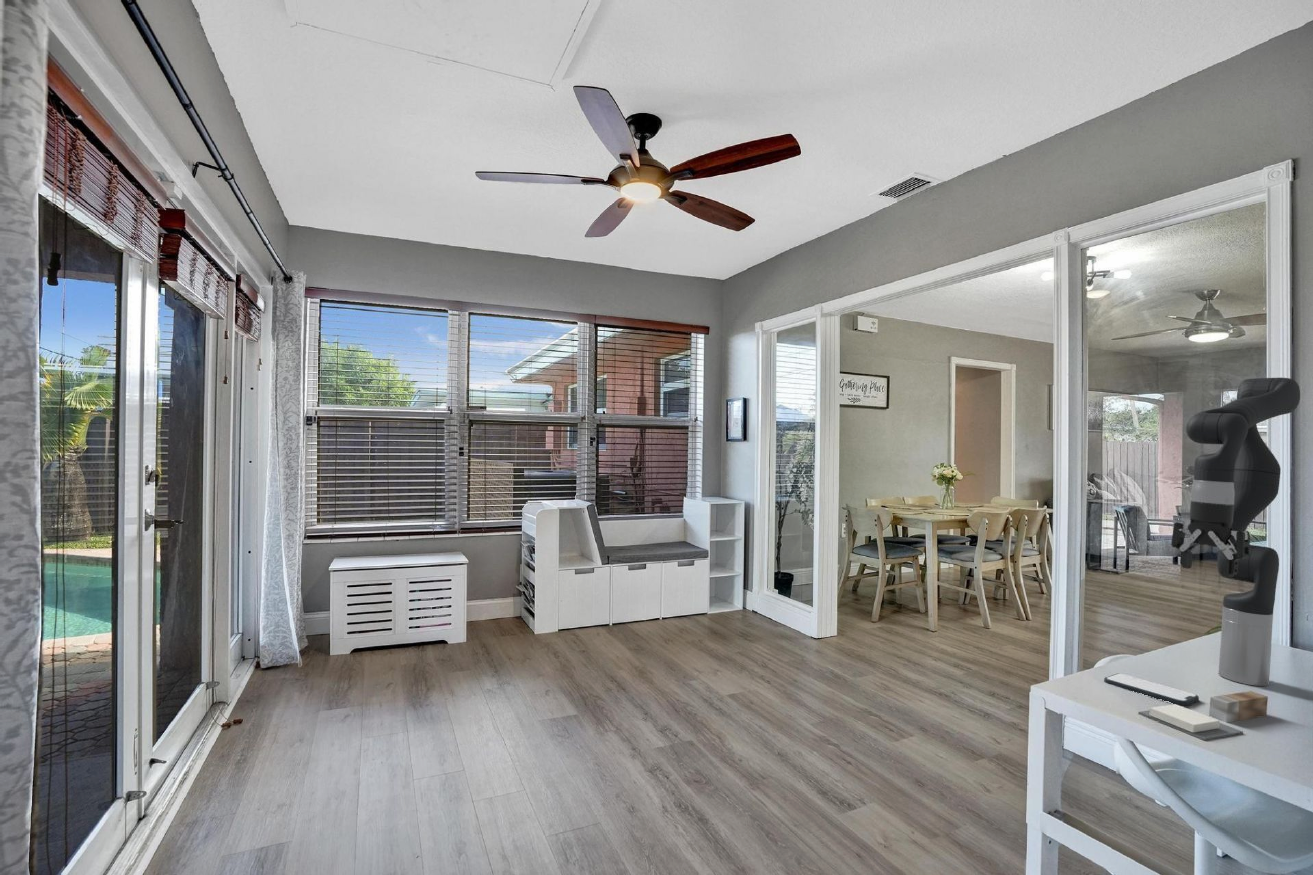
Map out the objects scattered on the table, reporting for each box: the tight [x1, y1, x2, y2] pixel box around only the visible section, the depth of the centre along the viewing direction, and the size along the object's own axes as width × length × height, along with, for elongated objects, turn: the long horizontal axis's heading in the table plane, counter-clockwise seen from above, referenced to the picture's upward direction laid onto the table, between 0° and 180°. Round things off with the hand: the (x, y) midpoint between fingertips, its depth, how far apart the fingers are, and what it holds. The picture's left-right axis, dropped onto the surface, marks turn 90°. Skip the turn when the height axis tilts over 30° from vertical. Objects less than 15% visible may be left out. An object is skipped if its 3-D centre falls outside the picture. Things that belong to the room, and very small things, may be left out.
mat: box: [1138, 709, 1244, 742], centre depth 132 cm, size 12×12×1 cm
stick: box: [1208, 690, 1269, 723], centre depth 138 cm, size 14×3×4 cm, turn 111°
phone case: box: [1103, 673, 1200, 708], centre depth 150 cm, size 9×2×16 cm
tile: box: [1149, 704, 1220, 733], centre depth 132 cm, size 2×8×8 cm
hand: (1207, 572), depth 149 cm, fingers open, 8 cm apart
